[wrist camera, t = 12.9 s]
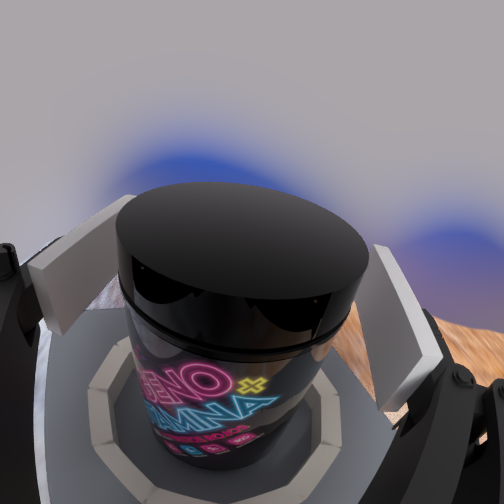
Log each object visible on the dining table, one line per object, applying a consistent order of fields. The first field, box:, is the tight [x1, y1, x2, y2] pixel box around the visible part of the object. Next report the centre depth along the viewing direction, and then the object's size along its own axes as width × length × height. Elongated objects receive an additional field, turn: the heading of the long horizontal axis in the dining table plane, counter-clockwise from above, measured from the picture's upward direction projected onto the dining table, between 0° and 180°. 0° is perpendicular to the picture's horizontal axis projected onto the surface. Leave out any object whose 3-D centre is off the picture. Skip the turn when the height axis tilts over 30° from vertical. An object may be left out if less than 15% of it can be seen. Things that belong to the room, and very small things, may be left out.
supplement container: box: [115, 182, 369, 471], centre depth 10 cm, size 7×7×10 cm
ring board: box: [44, 308, 397, 504], centre depth 13 cm, size 18×18×3 cm
